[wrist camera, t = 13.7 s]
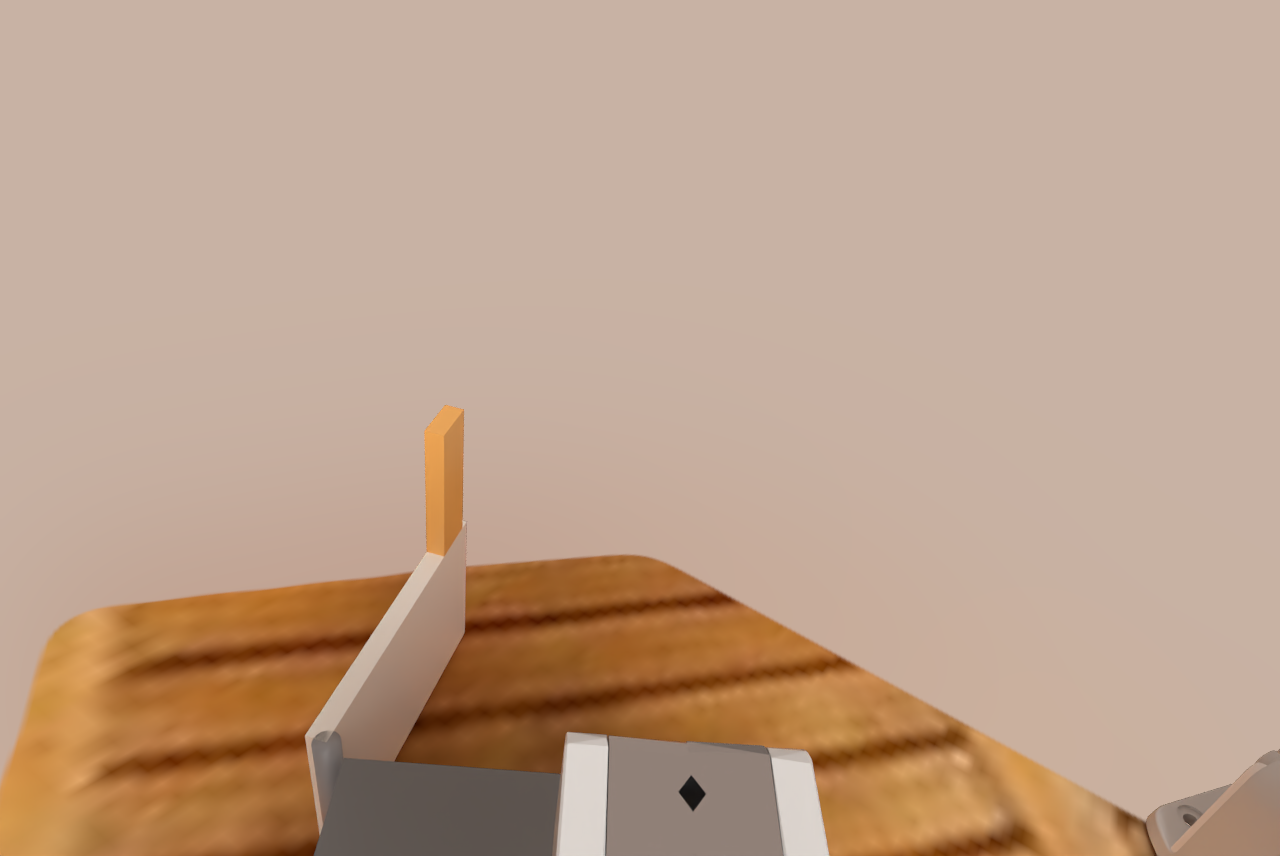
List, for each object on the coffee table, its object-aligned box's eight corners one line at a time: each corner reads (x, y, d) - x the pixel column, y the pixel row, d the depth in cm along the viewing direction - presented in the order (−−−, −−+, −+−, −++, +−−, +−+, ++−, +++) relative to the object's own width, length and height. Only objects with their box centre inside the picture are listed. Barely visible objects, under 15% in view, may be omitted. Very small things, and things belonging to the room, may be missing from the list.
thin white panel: (473, 635, 55) (479, 406, 45) (346, 873, 43) (316, 628, 33) (449, 628, 56) (450, 398, 46) (315, 862, 43) (276, 616, 33)
